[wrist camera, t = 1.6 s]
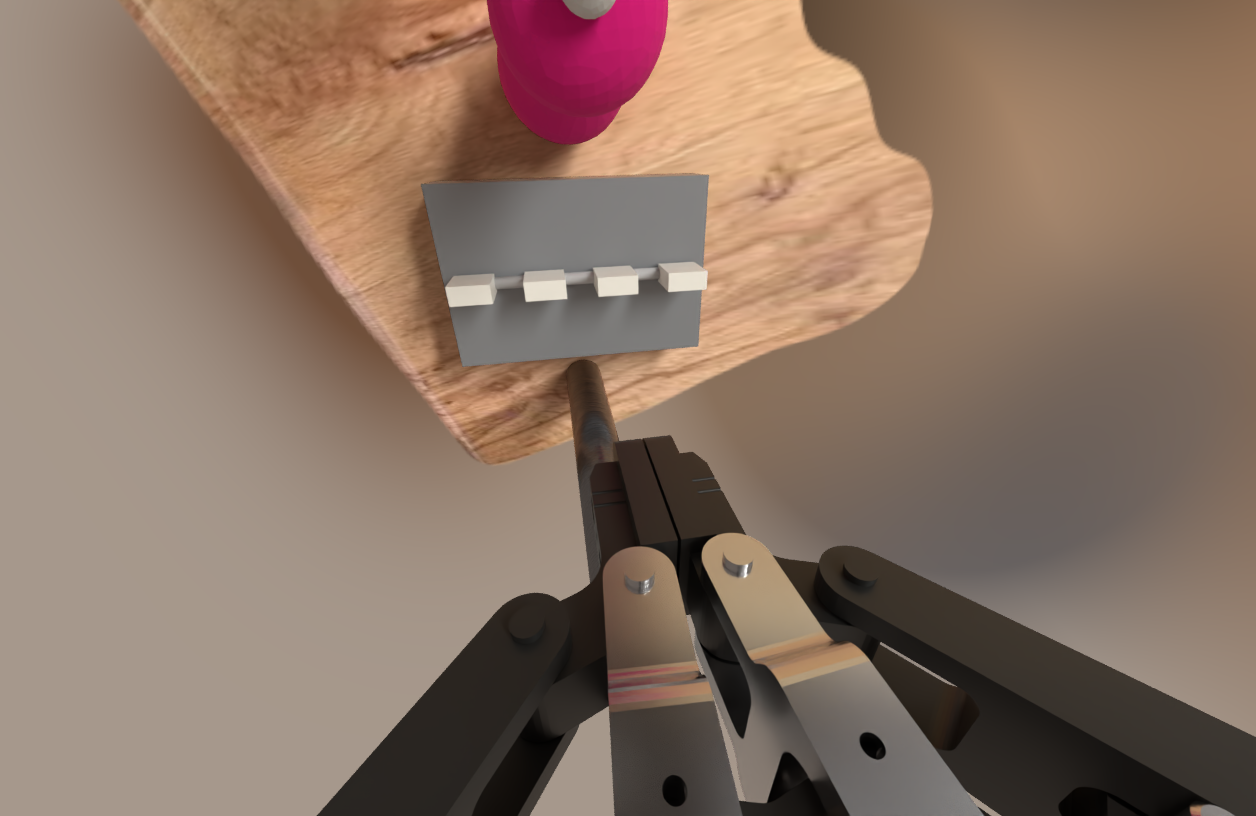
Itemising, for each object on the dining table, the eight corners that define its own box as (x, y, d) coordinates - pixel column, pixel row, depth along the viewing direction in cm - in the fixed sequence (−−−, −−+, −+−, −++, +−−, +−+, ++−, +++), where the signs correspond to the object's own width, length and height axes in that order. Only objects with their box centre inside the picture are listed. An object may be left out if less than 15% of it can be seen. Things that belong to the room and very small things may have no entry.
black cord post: (574, 354, 38) (606, 552, 19) (605, 366, 39) (667, 564, 20) (561, 384, 39) (580, 598, 20) (592, 394, 40) (638, 607, 21)
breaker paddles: (454, 275, 29) (444, 287, 26) (693, 261, 31) (707, 271, 29) (457, 293, 30) (449, 307, 27) (692, 278, 32) (706, 289, 29)
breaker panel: (434, 181, 30) (420, 184, 26) (690, 173, 32) (708, 175, 29) (470, 346, 36) (462, 366, 32) (684, 329, 38) (698, 346, 35)
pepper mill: (521, 154, 30) (494, 150, 13) (487, 16, 26) (387, -248, 9) (624, 136, 30) (731, 108, 13) (605, -2, 27) (721, -286, 10)
